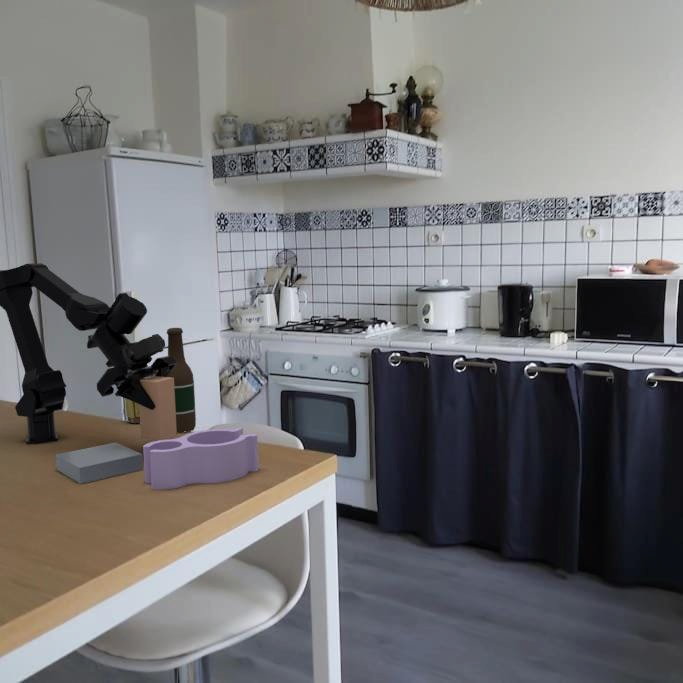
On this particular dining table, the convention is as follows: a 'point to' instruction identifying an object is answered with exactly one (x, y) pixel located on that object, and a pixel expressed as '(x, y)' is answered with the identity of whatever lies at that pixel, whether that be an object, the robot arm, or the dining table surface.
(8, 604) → the dining table surface
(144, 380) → the tan block
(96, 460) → the plate
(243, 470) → the clip
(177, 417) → the beer bottle
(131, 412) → the sauce bottle
